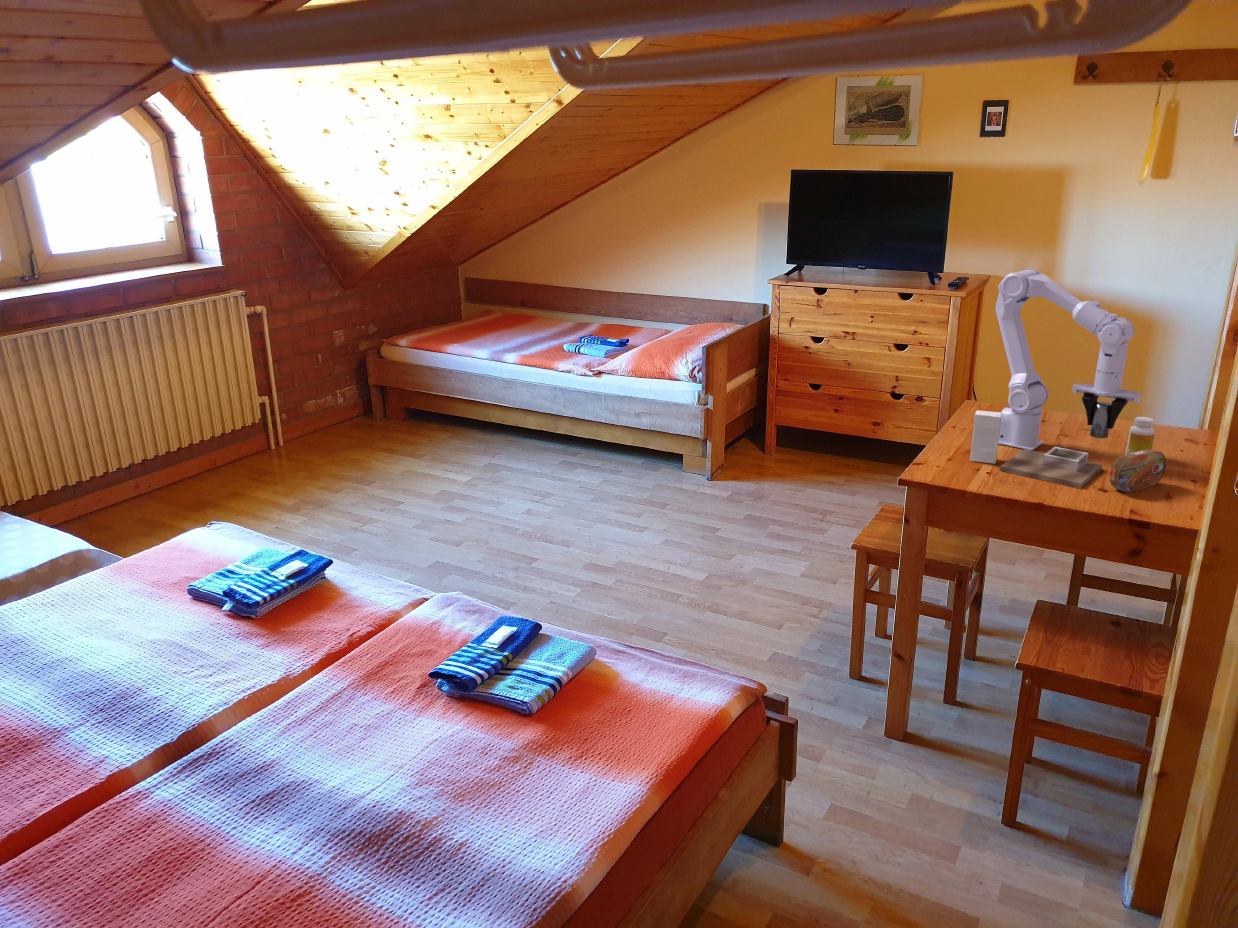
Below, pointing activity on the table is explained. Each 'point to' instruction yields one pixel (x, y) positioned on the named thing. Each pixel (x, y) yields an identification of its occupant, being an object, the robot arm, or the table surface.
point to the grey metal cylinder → (1100, 420)
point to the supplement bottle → (1140, 435)
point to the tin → (1137, 470)
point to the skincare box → (985, 436)
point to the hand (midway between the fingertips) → (1100, 426)
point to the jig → (1053, 466)
